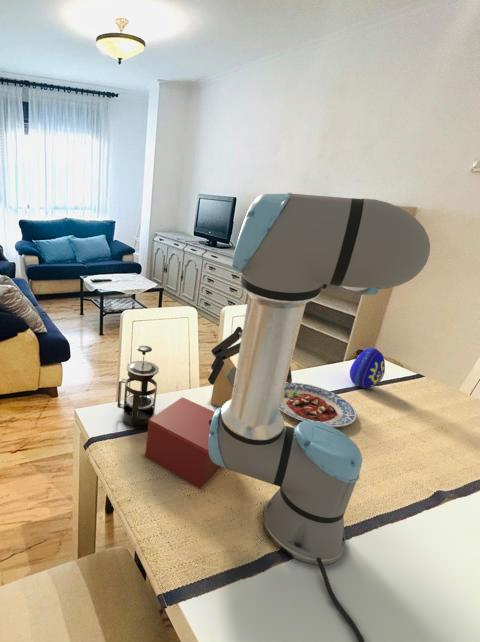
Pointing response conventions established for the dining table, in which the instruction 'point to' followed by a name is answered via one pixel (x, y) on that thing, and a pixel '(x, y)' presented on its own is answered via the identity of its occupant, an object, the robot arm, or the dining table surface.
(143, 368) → the french press
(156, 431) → the red hinged lid box
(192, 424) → the box lid
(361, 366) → the ornament
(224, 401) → the sandwich container
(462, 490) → the dining table surface
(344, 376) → the dining table surface
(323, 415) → the ceramic plate
